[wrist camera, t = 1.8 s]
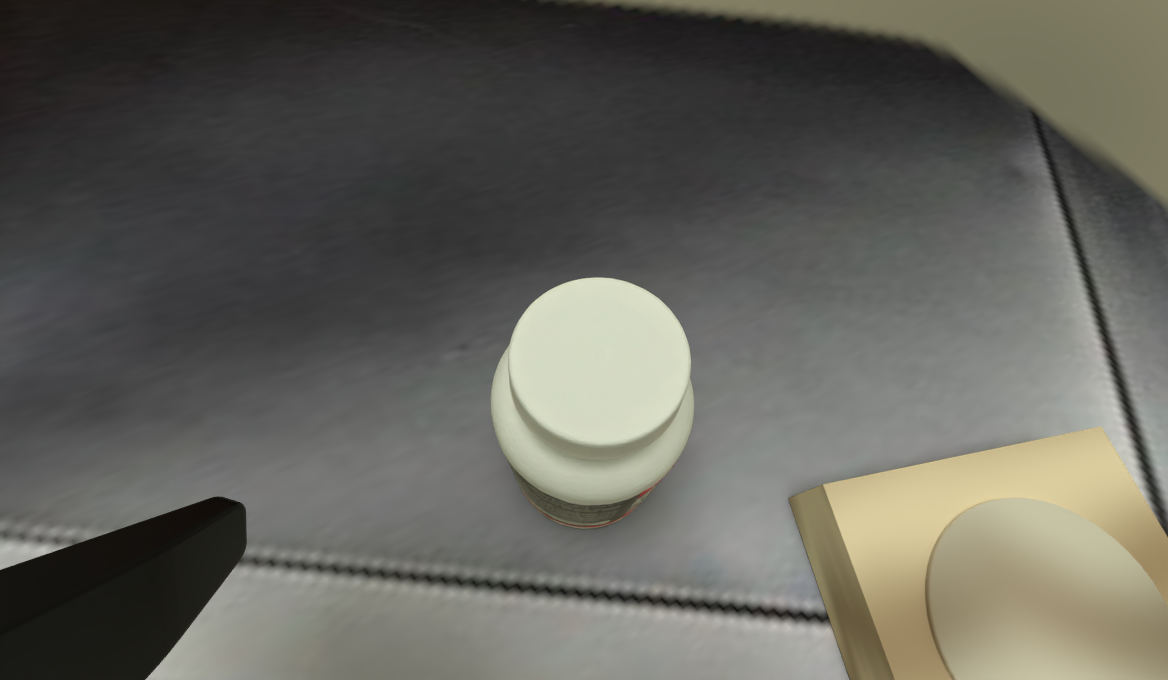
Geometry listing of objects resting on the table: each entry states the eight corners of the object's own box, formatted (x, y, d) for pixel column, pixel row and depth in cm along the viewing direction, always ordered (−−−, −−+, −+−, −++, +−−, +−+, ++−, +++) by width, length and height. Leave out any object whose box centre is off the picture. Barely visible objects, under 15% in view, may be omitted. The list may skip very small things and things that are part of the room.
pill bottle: (653, 537, 19) (724, 497, 11) (502, 522, 20) (447, 468, 11) (659, 393, 22) (722, 259, 13) (524, 380, 22) (493, 237, 13)
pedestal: (1198, 758, 17) (1332, 794, 14) (905, 842, 16) (981, 900, 13) (1032, 447, 21) (1109, 424, 18) (788, 498, 20) (827, 482, 17)
